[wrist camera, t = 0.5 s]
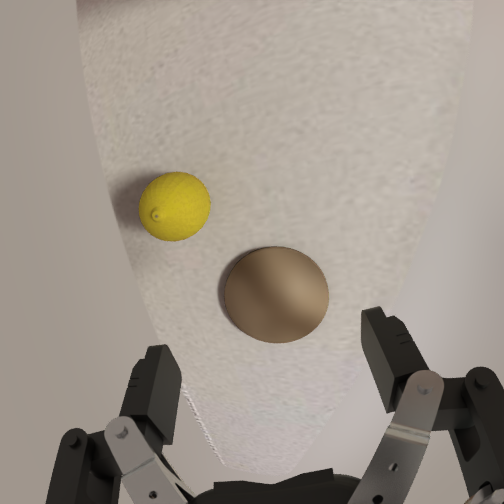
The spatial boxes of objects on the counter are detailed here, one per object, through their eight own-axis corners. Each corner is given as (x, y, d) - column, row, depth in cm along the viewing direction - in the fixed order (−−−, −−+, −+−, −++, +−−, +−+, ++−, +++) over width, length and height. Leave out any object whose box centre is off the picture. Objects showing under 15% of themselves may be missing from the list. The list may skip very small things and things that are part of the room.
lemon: (165, 228, 30) (127, 253, 23) (161, 170, 29) (118, 179, 21) (221, 227, 30) (196, 254, 22) (218, 167, 28) (191, 173, 20)
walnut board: (264, 225, 29) (264, 227, 28) (348, 286, 30) (350, 290, 29) (207, 303, 32) (205, 306, 31) (286, 354, 33) (285, 358, 32)
